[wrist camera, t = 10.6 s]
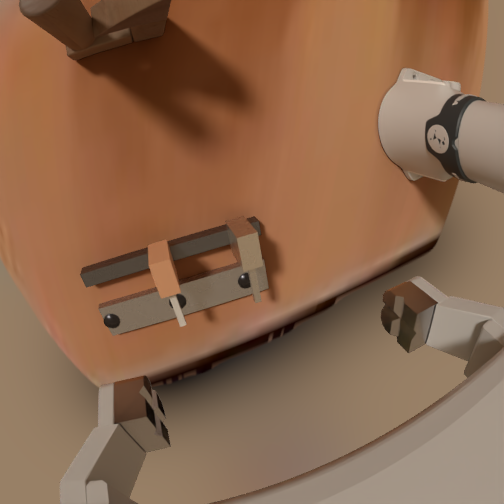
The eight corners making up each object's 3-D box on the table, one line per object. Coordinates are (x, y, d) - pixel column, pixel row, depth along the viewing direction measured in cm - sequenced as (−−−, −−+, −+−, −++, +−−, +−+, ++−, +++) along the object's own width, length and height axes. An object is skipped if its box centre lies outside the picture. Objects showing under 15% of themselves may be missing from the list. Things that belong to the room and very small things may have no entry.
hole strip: (261, 255, 45) (264, 259, 44) (265, 284, 47) (269, 289, 46) (98, 304, 40) (97, 310, 39) (111, 330, 43) (111, 336, 41)
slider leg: (166, 239, 37) (169, 259, 33) (187, 303, 42) (194, 328, 38) (147, 245, 37) (148, 265, 32) (171, 308, 42) (175, 334, 37)
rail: (252, 208, 41) (272, 227, 35) (263, 271, 46) (282, 298, 40) (78, 260, 37) (68, 289, 31) (106, 318, 42) (103, 352, 35)
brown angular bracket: (164, 36, 29) (178, -24, 13) (74, 61, 27) (16, 27, 11) (159, 9, 27) (172, -63, 11) (70, 35, 25) (14, -15, 9)
